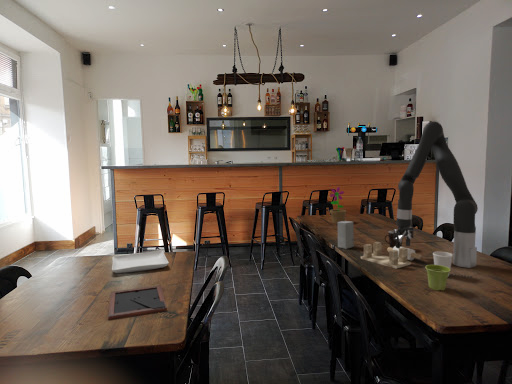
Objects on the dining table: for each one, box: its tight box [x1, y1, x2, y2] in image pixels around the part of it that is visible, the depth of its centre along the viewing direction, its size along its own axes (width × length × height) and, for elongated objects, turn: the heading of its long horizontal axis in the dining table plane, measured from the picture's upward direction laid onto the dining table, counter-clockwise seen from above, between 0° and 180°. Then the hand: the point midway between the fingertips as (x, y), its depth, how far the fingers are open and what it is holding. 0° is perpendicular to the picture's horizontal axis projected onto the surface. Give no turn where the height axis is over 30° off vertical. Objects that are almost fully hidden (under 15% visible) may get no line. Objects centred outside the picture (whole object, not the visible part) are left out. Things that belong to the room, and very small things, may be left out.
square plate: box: [111, 250, 170, 274], centre depth 188 cm, size 27×27×4 cm
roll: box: [386, 246, 422, 262], centre depth 193 cm, size 19×6×6 cm, turn 33°
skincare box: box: [337, 220, 355, 250], centre depth 219 cm, size 8×7×16 cm
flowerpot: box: [329, 186, 348, 225], centre depth 301 cm, size 14×14×30 cm
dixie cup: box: [432, 251, 453, 277], centre depth 165 cm, size 8×8×10 cm
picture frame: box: [107, 284, 168, 320], centre depth 140 cm, size 20×2×25 cm
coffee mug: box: [384, 230, 404, 248], centre depth 213 cm, size 12×9×10 cm
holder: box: [360, 241, 412, 269], centre depth 188 cm, size 22×12×8 cm, turn 33°
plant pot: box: [425, 264, 451, 291], centre depth 149 cm, size 9×9×9 cm
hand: (402, 247), depth 194 cm, fingers open, 8 cm apart
